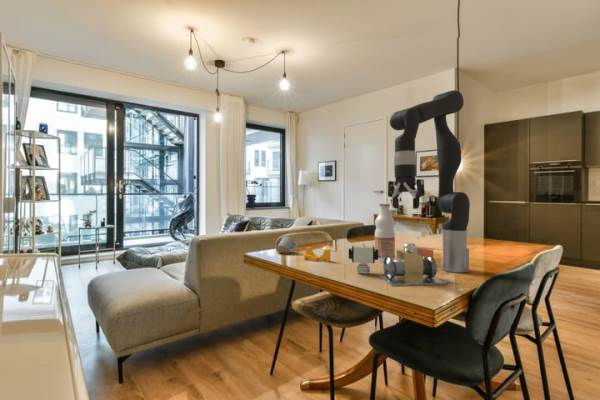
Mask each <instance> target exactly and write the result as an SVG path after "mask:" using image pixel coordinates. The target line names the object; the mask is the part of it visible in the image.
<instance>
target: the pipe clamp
mask: <svg viewBox="0 0 600 400" xmlns="http://www.w3.org/2000/svg"><path fill="white" fill-rule="evenodd" d="M303 258H304V259H303V261H310V262H324V263H329V262H331V248H330V249H329V248H326V249H324V251H323V253H322V255H321V256H319V255H316V254H315V253H314V250H313V247H309V246H308V247H305V254H304V255H303Z"/></svg>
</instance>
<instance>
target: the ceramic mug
mask: <svg viewBox="0 0 600 400" xmlns="http://www.w3.org/2000/svg"><path fill="white" fill-rule="evenodd" d="M298 248H299V245H298V243H297V242H295V240H294V239H293V238H292V237H290V236H283V237H282V238H281V240H280V242H279V243H278V245H277V247H276V250H277V252H278V253H279V252H280V253H279V254H281V253H289V254H290V253H291V252H294V251H296V250H297V249H298Z"/></svg>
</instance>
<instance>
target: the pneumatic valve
mask: <svg viewBox="0 0 600 400" xmlns="http://www.w3.org/2000/svg"><path fill="white" fill-rule="evenodd" d="M348 260H350V261H351V262H352V263H357V265H356V272H357V273H358V274H359V275H368V274H369V273H370V272H371V269H370V268H371V267H370V265H368V264H375V262H376V261H375V260H378V249H375V245H365V243H361V245H351V248H348ZM358 263H359V264H358Z"/></svg>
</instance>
